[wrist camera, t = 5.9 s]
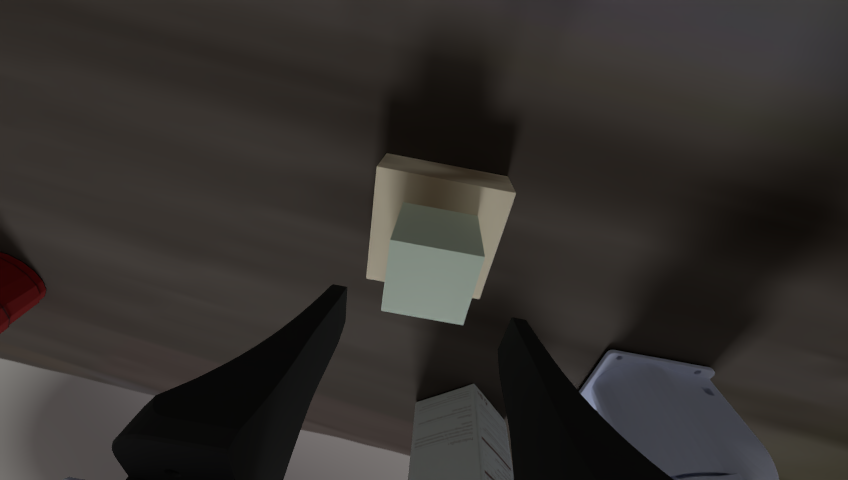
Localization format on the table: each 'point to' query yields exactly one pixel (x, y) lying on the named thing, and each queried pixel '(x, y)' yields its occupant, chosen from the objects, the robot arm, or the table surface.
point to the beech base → (436, 204)
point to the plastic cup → (17, 289)
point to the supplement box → (459, 439)
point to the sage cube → (433, 264)
